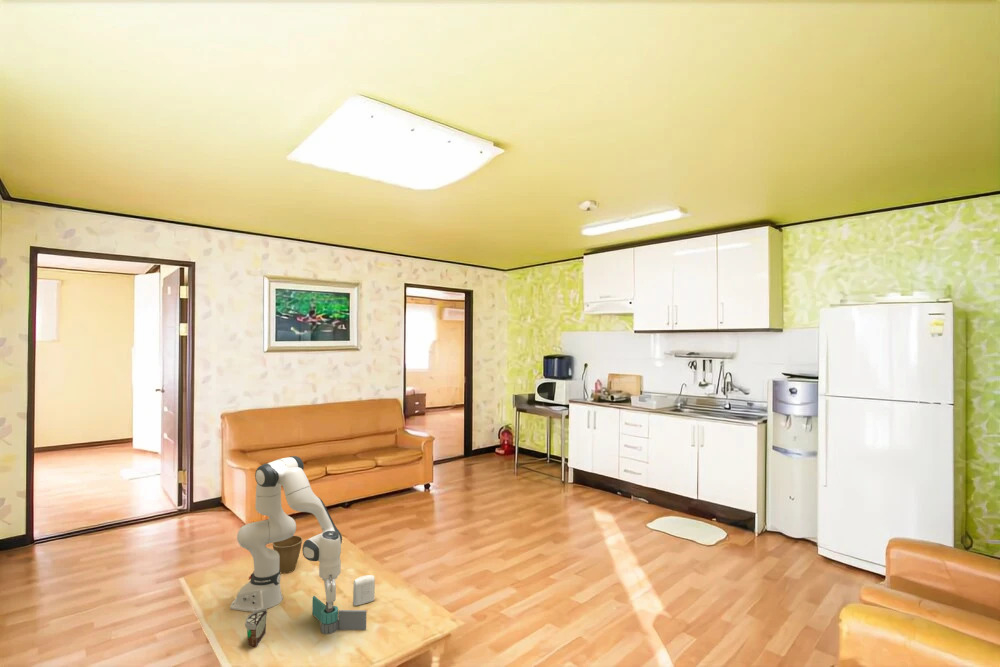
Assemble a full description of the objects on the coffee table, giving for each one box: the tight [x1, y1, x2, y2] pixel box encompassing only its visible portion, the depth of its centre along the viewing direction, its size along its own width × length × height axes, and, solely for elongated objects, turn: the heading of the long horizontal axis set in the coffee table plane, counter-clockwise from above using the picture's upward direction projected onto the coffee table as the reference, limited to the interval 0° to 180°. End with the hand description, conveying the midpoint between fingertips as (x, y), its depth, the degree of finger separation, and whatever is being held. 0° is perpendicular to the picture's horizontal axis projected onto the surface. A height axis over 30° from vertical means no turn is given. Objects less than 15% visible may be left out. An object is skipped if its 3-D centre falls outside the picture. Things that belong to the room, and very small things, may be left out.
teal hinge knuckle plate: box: [311, 595, 339, 624], centre depth 214 cm, size 20×7×8 cm, turn 45°
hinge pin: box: [325, 601, 333, 613], centre depth 210 cm, size 3×3×12 cm
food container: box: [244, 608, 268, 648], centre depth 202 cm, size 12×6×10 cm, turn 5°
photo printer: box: [352, 574, 376, 607], centre depth 232 cm, size 10×4×12 cm, turn 123°
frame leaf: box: [320, 609, 367, 635], centre depth 210 cm, size 20×7×8 cm, turn 90°
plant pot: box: [272, 535, 303, 574], centre depth 263 cm, size 15×15×16 cm
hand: (329, 601), depth 210 cm, fingers open, 8 cm apart
